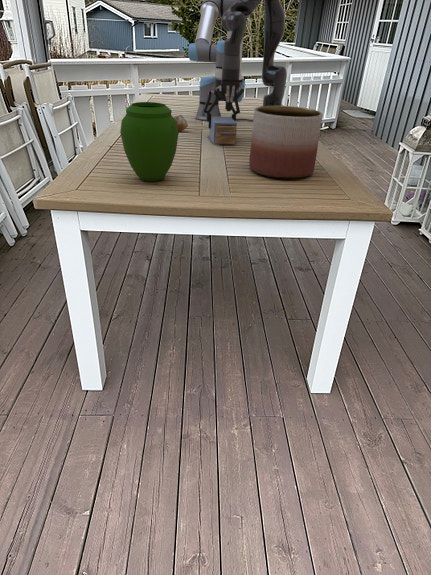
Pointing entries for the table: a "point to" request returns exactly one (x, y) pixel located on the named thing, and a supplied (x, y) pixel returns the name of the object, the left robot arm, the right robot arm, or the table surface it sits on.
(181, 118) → the seashell
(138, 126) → the vase
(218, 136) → the drawer
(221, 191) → the table surface
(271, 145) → the planter
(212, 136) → the cabinet
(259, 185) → the table surface
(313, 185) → the table surface
